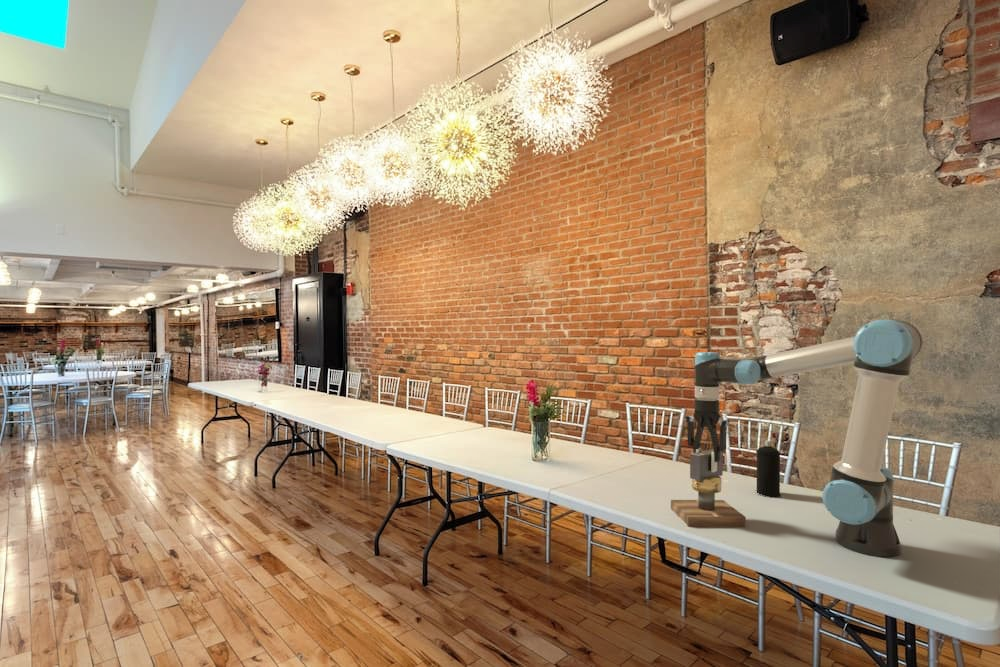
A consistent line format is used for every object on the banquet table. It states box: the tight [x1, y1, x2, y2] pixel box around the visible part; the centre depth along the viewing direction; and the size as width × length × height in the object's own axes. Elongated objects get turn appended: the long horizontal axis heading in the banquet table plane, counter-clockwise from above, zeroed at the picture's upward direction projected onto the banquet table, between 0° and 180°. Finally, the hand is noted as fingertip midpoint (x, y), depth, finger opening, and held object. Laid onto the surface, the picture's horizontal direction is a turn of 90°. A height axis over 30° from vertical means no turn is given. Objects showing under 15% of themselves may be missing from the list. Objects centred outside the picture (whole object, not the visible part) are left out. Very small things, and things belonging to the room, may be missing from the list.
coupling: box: [689, 448, 724, 494], centre depth 167 cm, size 9×12×12 cm
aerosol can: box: [755, 439, 781, 498], centre depth 191 cm, size 8×8×20 cm
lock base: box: [670, 491, 747, 527], centre depth 167 cm, size 16×18×9 cm
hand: (706, 469), depth 167 cm, fingers closed on coupling, 4 cm apart
